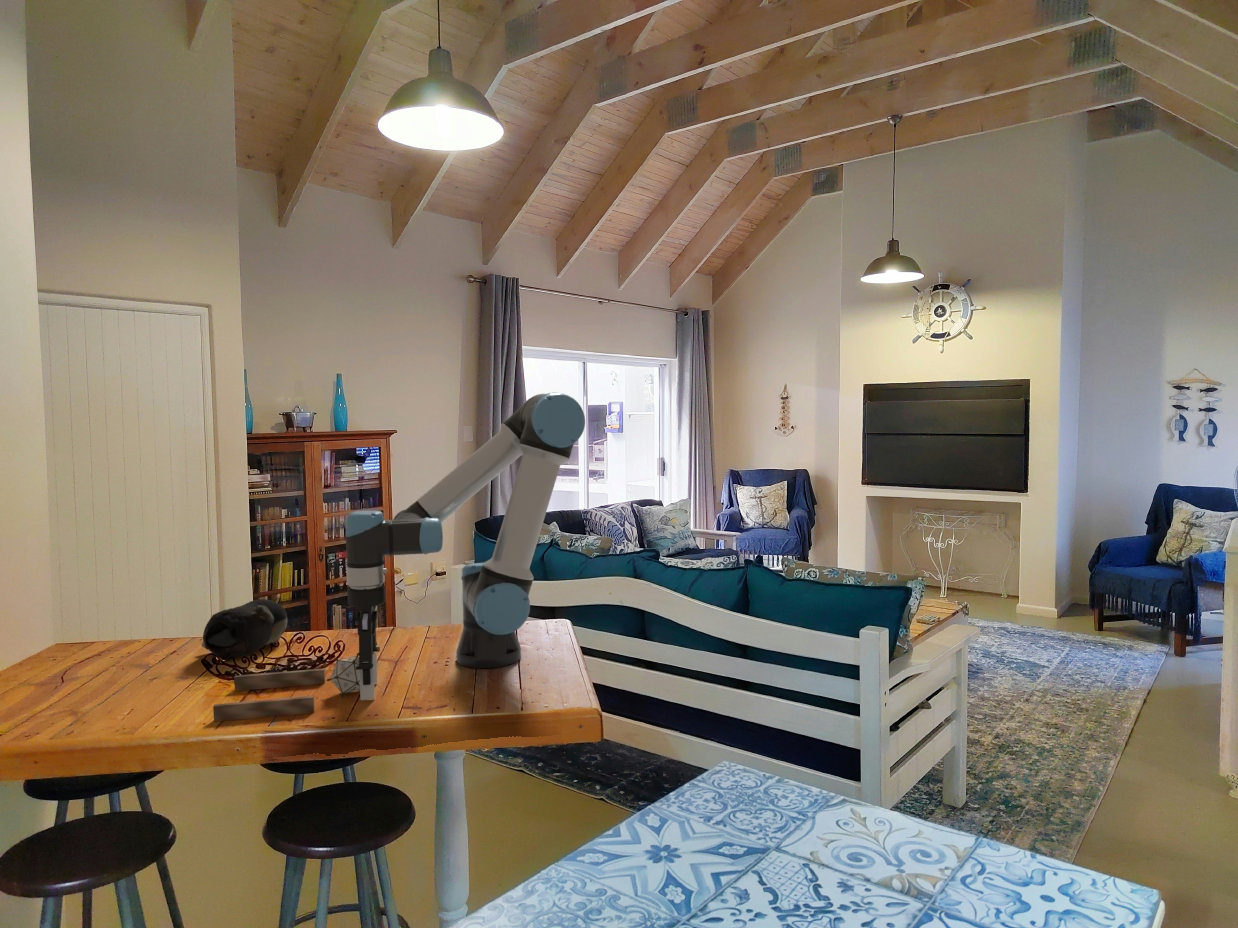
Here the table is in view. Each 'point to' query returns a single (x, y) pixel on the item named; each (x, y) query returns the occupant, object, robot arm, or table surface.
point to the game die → (346, 674)
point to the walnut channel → (274, 705)
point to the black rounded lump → (244, 628)
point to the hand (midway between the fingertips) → (369, 690)
